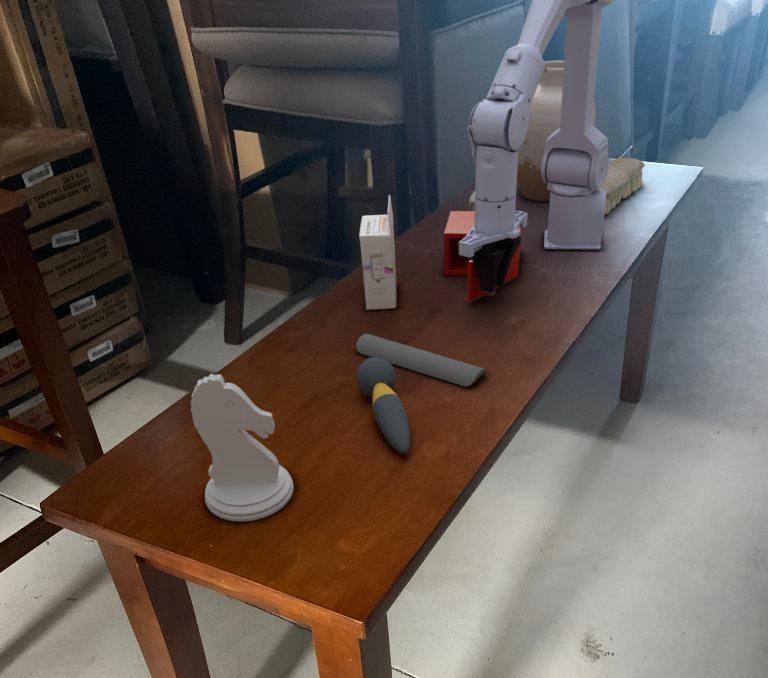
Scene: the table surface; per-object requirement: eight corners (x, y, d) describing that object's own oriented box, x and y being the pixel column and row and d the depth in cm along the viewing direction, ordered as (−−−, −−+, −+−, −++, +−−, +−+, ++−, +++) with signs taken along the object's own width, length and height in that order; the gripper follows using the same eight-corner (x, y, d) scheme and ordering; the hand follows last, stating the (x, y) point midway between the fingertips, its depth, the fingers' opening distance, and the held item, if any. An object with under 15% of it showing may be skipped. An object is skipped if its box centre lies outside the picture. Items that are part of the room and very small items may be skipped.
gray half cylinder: (472, 389, 100) (472, 377, 99) (354, 352, 109) (353, 341, 108) (489, 375, 102) (489, 363, 101) (372, 340, 112) (371, 328, 111)
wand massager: (435, 453, 90) (434, 417, 86) (395, 463, 89) (392, 426, 86) (384, 373, 104) (382, 340, 101) (349, 381, 103) (346, 347, 100)
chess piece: (289, 519, 82) (267, 399, 72) (198, 524, 83) (164, 405, 73) (297, 464, 90) (278, 348, 80) (213, 468, 90) (184, 354, 80)
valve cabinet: (520, 252, 133) (522, 211, 128) (517, 276, 125) (519, 233, 121) (450, 251, 135) (450, 211, 130) (444, 275, 127) (443, 233, 123)
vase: (490, 197, 155) (494, 68, 140) (536, 176, 163) (544, 52, 148) (558, 212, 146) (569, 77, 131) (602, 189, 154) (618, 59, 140)
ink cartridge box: (366, 287, 126) (359, 194, 116) (397, 285, 125) (392, 192, 116) (364, 310, 119) (356, 214, 110) (396, 309, 119) (391, 212, 109)
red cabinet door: (515, 275, 125) (517, 237, 121) (533, 280, 123) (536, 242, 119) (467, 300, 119) (467, 261, 115) (485, 306, 117) (486, 267, 113)
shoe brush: (604, 222, 141) (607, 194, 138) (565, 216, 144) (568, 189, 141) (648, 183, 156) (652, 156, 152) (612, 178, 159) (615, 152, 156)
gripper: (489, 216, 102) (486, 311, 111) (547, 185, 110) (540, 276, 119) (446, 206, 106) (447, 299, 114) (506, 177, 114) (502, 266, 122)
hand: (492, 287), depth 117 cm, fingers closed
